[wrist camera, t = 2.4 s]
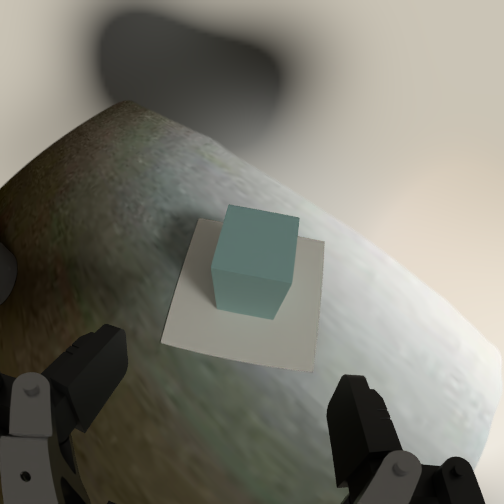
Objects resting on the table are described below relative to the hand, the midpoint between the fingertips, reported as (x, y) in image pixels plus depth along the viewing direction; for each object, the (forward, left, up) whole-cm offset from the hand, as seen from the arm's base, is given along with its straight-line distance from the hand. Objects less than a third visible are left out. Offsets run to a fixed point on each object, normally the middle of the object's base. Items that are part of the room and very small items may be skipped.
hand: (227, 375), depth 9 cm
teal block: (0, +11, -18) cm, 21 cm away
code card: (0, +11, -18) cm, 21 cm away
